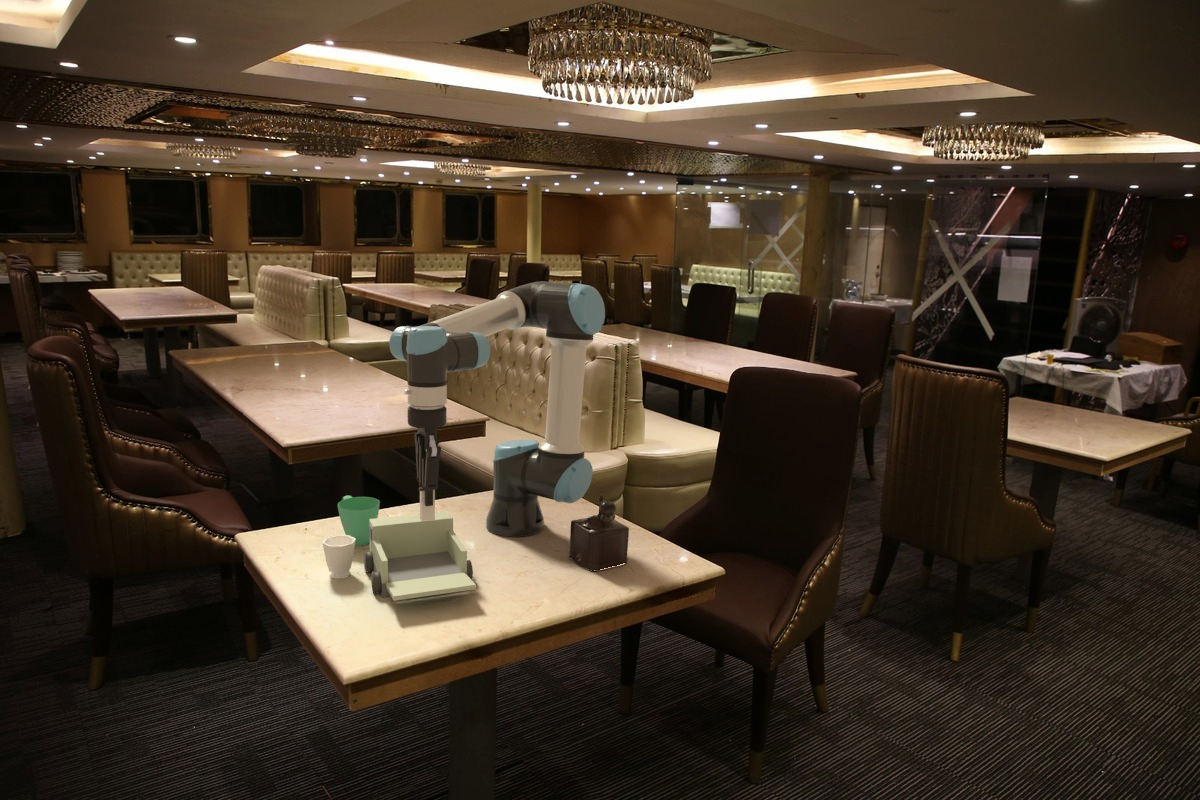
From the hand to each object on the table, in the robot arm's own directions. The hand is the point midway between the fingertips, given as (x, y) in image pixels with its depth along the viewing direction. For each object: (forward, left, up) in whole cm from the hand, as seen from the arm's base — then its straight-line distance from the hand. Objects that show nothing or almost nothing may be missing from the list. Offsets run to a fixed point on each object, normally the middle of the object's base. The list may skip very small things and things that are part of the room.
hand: (427, 519), depth 159 cm
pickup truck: (-1, -14, -18) cm, 23 cm away
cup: (+15, -21, -18) cm, 32 cm away
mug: (+9, -40, -18) cm, 45 cm away
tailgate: (-1, -5, -15) cm, 16 cm away
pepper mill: (-43, -6, -19) cm, 47 cm away
